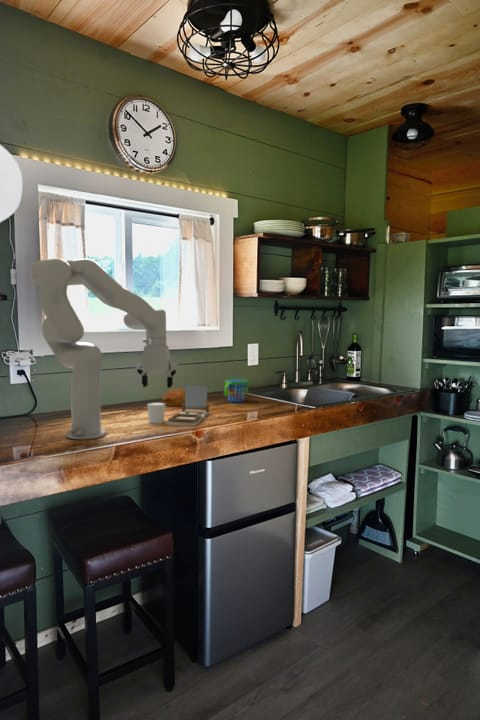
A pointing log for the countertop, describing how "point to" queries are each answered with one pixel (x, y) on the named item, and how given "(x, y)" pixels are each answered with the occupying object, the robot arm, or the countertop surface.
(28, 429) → the countertop surface
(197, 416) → the jig board
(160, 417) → the white tapered cup
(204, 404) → the flap
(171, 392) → the croissant
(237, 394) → the snack cup
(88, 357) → the robot arm
